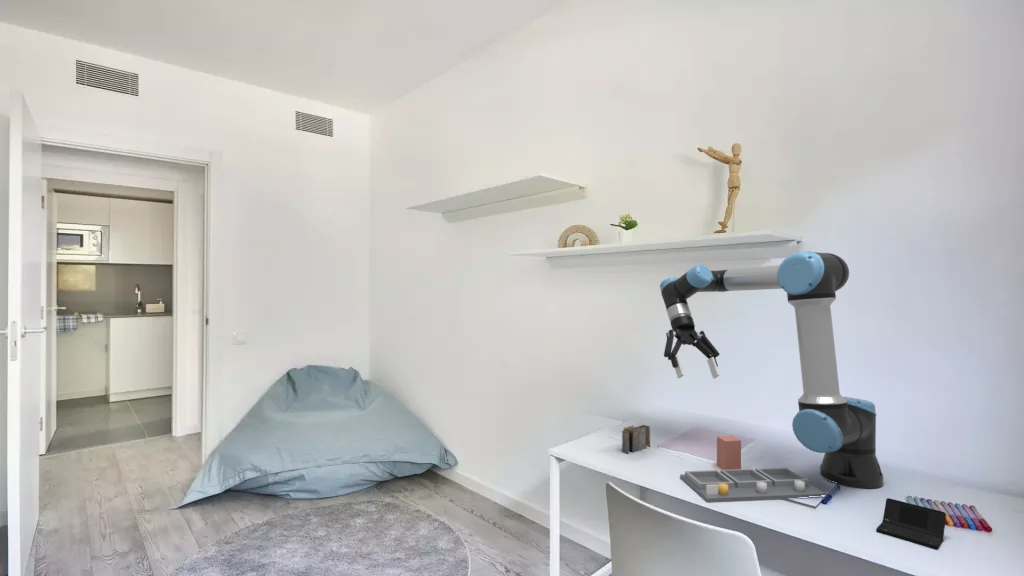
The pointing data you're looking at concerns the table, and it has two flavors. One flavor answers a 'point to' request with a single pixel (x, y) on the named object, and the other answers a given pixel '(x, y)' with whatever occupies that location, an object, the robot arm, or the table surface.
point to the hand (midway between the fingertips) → (698, 376)
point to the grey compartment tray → (749, 484)
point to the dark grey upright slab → (635, 438)
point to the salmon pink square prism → (728, 452)
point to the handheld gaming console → (913, 523)
